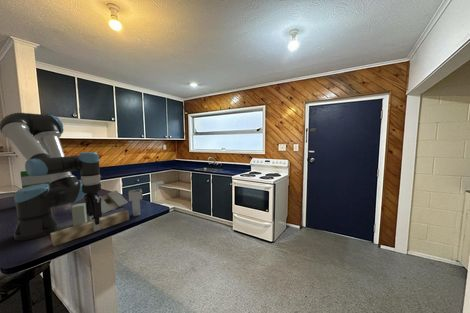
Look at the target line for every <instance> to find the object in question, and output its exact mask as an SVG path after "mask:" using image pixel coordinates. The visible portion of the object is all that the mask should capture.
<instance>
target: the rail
mask: <svg viewBox="0 0 470 313" xmlns="http://www.w3.org/2000/svg"><path fill="white" fill-rule="evenodd" d="M129 215H130V211H129V210H126V209H125V210H122V211H118V212H115V213H112V214H108V215H105V216H102V217H100V230H97V231H94V229H93V220H92V221H88V220H87V222H85V223H82V224H79V225H75V226H73V225H72V226H70V227H66V228H63V229H60V230H55V231H54V232H52V233H50V241H51V245H52V246H53V247H57V246H59V245H62V244H64V243H65V244H66V243H67V242H70V241H74V240H76V239H77V240H78V238H82V237H84V236H87V235H91V234H93V233H96V232H99V231H102V230H104V229H107V228H110V227H113V226H115V225H119V224H122V223H124V222H126V221H130V216H129Z"/></svg>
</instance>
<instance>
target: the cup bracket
mask: <svg viewBox="0 0 470 313" xmlns="http://www.w3.org/2000/svg"><path fill="white" fill-rule="evenodd" d="M141 200H143V191H142V188H139V189H131V190H128V202H131V204H132V206H131V207H132V217H138V216H141V215H142V214H141Z"/></svg>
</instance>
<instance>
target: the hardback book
mask: <svg viewBox="0 0 470 313" xmlns="http://www.w3.org/2000/svg"><path fill="white" fill-rule="evenodd" d="M20 179H21V180H20V181H21V187H22V188H25V187H28V186H32V185H38V184H48V185H49V186H50V184H49V183H50V182H51V181H52V178H51V175H50V174H49V175H44V176H30V175H28V174H27V171H26V170H23V171H22V170H21V171H20ZM22 188H21V189H22Z"/></svg>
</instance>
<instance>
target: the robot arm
mask: <svg viewBox="0 0 470 313" xmlns="http://www.w3.org/2000/svg"><path fill="white" fill-rule="evenodd" d="M0 133H1V134H2V135H3V136H4V137H5V138H7V139H9V140H10V141H11V142H12V143H13V144H14V146H15V147H16V148H17V150H18V151H19V152H20V154H21V155H22V156H23V157H24V159H25V160H26V161H25V164H24V168H25V171H27V174H28V175H30V176H44V175H49V174H50V175H51V178H52V181H51V182H50V183H49V184H50V186H49V185H48V184H38V185H32V186H28V187H25V188H20V189H18V190H17V191H15V193H14V204H15V210H16V216H17V223H16V227H15V230H14V233H13V238H14V240H15V241H29V240H34V239H38V238H42V237H44V236H47V235H49V234H50V233H53V232H56V231H58V229H59V224H58V221H57V220H56V219H55V217H54V216H53V213H52V212H53V211H52V209H53V208H57V207H61V206H62V207H63V206H65V205H68V204H74V203H77V202H80V201H81V200H83V199H84V200H85V203H86V214H87V216H89V217H88V218H89V219H88V220H89V221H92V220H93V229H94V231H96V232H98V231H97V230H99V231H101V230H100V218H101V217H103V216H102V215H103V213H102V211H101V198H99V196H100V195H99V194H98V192H100V191H101V190H102V183H101V178H102V176H101V170H100V157H99V153H98V152H96V151H87V152H86V151H84V152H79V155H78V154H75V155H74V154H73V155H70V156H69V155H68V156H66V155H65V154H66V153H65V152H64V149H63V146H62V143H61V140H60V138H61V137H62V134H63V133H64V125H63V122H62V120H61V119H60V117H58V116H56V115H52V114H48V113H46V114H43V113H42V114H41V113H28V112H13V113H10V114H8V115H6V116H4V117H3V118H1V120H0ZM77 171H79V172H80V179H78V178H77V176H75V175H73V174H72V172H77ZM50 235H51V234H50Z"/></svg>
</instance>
